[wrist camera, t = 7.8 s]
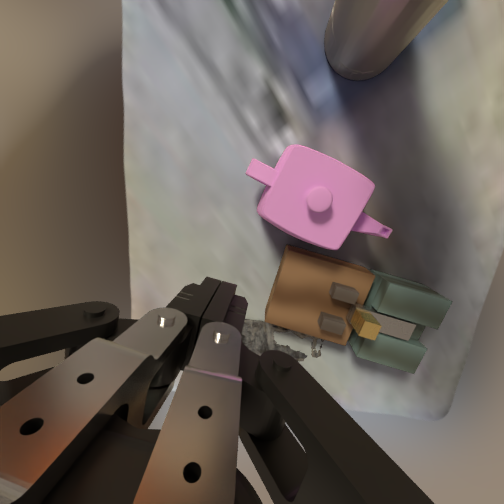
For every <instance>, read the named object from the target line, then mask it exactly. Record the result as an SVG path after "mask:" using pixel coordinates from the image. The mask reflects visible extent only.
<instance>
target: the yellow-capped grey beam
mask: <svg viewBox="0 0 504 504" xmlns="http://www.w3.org/2000/svg"><path fill="white" fill-rule="evenodd" d="M346 318H347V320H348V322H349V323H350V324H352V326H353V327H354V329H355V331H356V332H357V334H358V335H359V336H361V337H364V338H368V339H371V340H375V339H376V337H377V335H378V333H379V332H380V333H384V334H387V335H390V336H394V337H397V338H400V339H404V340H407V341H409V339H410V337H411V335H412V333H413V331H414V329H415V327H416V324H415V323H414V322H411V321H408V320H404V319H401V318H398V317H394V316H391V315H388V314H384V313H381V312H377V311H376V309H374V308H371V307H368V306H364V305H361V304H357V303H355V305H354V304H351V307H350V309H349V311H348V314H347V316H346Z"/></svg>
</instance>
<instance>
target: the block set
mask: <svg viewBox="0 0 504 504" xmlns="http://www.w3.org/2000/svg"><path fill="white" fill-rule="evenodd" d="M355 303H357V304H361V305H364V306H368V307H371V308H374V309H376V311H377V312H381V313H384V314H388V315H391V316H394V317H398V318H401V319H404V320H408V321H411V322H414V323H415V324H416V327H415V329H414V331H413V333H412V335H411V337H410V339H409V341H407V340H404V339H400V338H397V337H394V336H390V335H387V334H384V333H380V332H379V333H378V335H377V337H376V339H375V340H371V339H368V338H364V337H361V336H359V335H358V334H357V332H356V331H355V329H354V327H353V326H352V324H350V323H349V322H348V320H347V318H346V316H347V314H348V311H349V309H350V307H351V304H354V305H355ZM451 304H452V301H450V300H449V299H447V298H445V297H444V296H442V295H440V294H439V293H437V292H435V291H433V290H432V289H430V288H428V287H427V286H425V285H423V284H420V283H417V282H413V281H410V280H406V279H403V278H400V277H396V276H393V275H389V274H386V273H383V272H379V271H376V270H372V269H371V270H370V271H369V270H367V269H366V268H365V267H362V266H359V265H355V264H352V263H349V262H345V261H342V260H338V259H335V258H332V257H328V256H325V255H321V254H318V253H315V252H311V251H308V250H305V249H301V248H298V247H294V246H291V245H288V244H286V247H285V251H284V254H283V257H282V260H281V263H280V266H279V269H278V272H277V275H276V278H275V281H274V284H273V287H272V290H271V293H270V296H269V299H268V303H267V306H266V309H265V322H267V323H270V324H274V325H277V326H281V327H284V328H287V329H291V330H294V331H297V332H301V333H304V334H307V335H311V336H314V337H317V338H321V339H324V340H328V341H331V342H334V343H338V344H341V345H344V346H345V345H346V343H347V341H349V343H350V345H351V347H352V349H353V351H354V352H355V354H356V356H357V357H359V358H362V359H366V360H369V361H373V362H376V363H379V364H383V365H386V366H389V367H393V368H396V369H399V370H403V371H406V372H409V373H413V374H414V373H415V371H416V369H417V367H418V366H419V364H420V362H421V360H422V358H423V356H424V354H425V352H426V351H427V348H426V347H425V346H424V345H423V344H422V343H421V342H420V341H419V338H420V336H421V334H422V332H423V330H424V328H425V326H428V327H431V328H435V329H438V328H439V326H440V324H441V322H442V320H443V319H444V317H445V315H446V313H447V311H448V309H449V307H450V305H451Z"/></svg>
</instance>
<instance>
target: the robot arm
mask: <svg viewBox="0 0 504 504" xmlns="http://www.w3.org/2000/svg"><path fill="white" fill-rule="evenodd" d="M447 2H448V0H335V3H334V6H333V9H332V12H331V15H330V18H329V21H328V24H327V28H326V31H325V38H324V45H325V52H326V56H327V59H328V61H329V63H330V65H331V66H332V68H333V69H334V70H335V71H336V72H337V73H338V74H340V75H341V76H342V77H345V78H347V79H350V80H366V79H369V78H373V77H374V76H376V75H378V74H380V73H381V72H382V71H384V70H385V69H386V68H387V67H388V66H389V65H390V64H391V63H392V62H393V61H394V59H395V58H396V57H397V56H398V55H399V54H400V53H401V52H402V51H403V50H404V49H405V48H406V47H407V45H408V44H409V43H410V42H411V41H412V40H413V39H414V38H415V37H416V36H417V34H418V33H419V32H420V31H421V30H422V29H423V28H424V27H425V26H426V25H427V24H428V22H429V21H430V20H431V19H432V18H433V17H434V16H435V15H436V14H437V13H438V11H439V10H440V9H441V8H442V7H443V6H444V5H445V4H446V3H447ZM236 287H237V285H235V284H232V283H228V282H224V281H222V283H221V280H217V279H213V278H210V277H206V278H205V279H204V281H203V282H202V283H201V285H197V284H194V283H192V284H190V285H187V286H185V287H184V288H183V289H182V290H181V291H180V292H179V293H178V294H177V296H176V297H175V298H174V299H173V300H172V301H171V302H170V303H169V304H168V305H167V306H166V308H156V309H153V310H151V311H149V312H148V313H147V314H145V315H144V316H143V317H142V318H140V319H139V320H134V319H119V309H118V308H117V307H116V306H115V305H113V304H110V303H107V302H98V301H96V302H85V303H79V304H73V305H67V306H60V307H54V308H48V309H41V310H35V311H29V312H22V313H16V314H10V315H4V316H0V370H1V369H3V368H4V367H6V366H7V365H9V364H11V363H14V362H17V361H21V360H25V359H29V358H32V357H36V356H40V355H44V354H48V353H51V352H55V351H59V350H62V349H65V359H64V361H62V362H61V363H60V364H58V365H57V366H55V367H52V368H49V369H45V370H42V371H39V372H35V373H32V374H29V375H26V376H22V377H19V378H16V379H12V380H9V381H0V504H262V502H261V500H260V498H259V496H258V495H257V493H256V491H255V490H254V488H253V487H252V485H251V484H250V482H249V481H248V480H247V479H246V477H245V476H244V475H243V474H242V473H241V472H240V471H239V470H238V469H237V468H236V467H237V451H238V436H240V439H241V441H242V443H243V445H244V447H245V449H246V451H247V452H248V454H249V457H250V458H251V460H252V462H253V464H254V466H255V468H256V470H257V472H258V474H259V476H260V477H261V479H262V481H263V483H264V485H265V487H266V489H267V491H268V493H269V495H270V497H271V499H272V500H273V502H274V504H434V503H433V502H432V501H431V499H429V497H428V496H427V495H426V494H425V493H424V492H423V491H422V490H421V489H420V488H419V487H418V486H417V485H416V484H415V483H414V482H413V481H412V480H411V479H410V478H409V477H408V476H407V475H406V474H405V472H404V471H402V469H401V468H400V467H399V466H398V465H397V464H396V463H395V462H394V461H393V460H392V459H391V458H390V457H389V456H388V455H387V454H386V453H385V452H384V451H383V450H382V449H381V448H380V447H379V446H378V445H377V443H375V441H374V440H373V439H372V438H371V437H370V436H369V435H368V434H367V433H366V432H365V431H364V430H363V429H362V428H361V427H360V426H359V425H358V424H357V423H356V422H355V421H354V420H353V418H351V416H350V415H349V414H348V413H347V412H346V411H345V410H344V409H343V408H342V407H341V406H340V405H339V404H338V403H337V402H336V401H335V400H334V399H333V398H332V397H331V396H330V395H329V394H328V393H327V392H326V390H325V389H324V388H323V387H322V386H321V385H320V384H319V383H318V382H317V381H316V380H315V379H314V378H313V377H312V376H311V375H310V374H309V373H308V372H307V371H306V370H305V369H304V368H303V367H302V366H301V365H300V363H299V362H298V361H297V360H296V359H294V358H293V357H292V356H290V355H289V354H287V353H284V352H282V351H278V350H268V351H265V352H264V353H262V354H261V356H259V355H258V354H256V353H254V352H252V351H251V350H249V349H248V348H247V347H246V346H245V345H244V343H243V341H242V339H241V334H242V329H243V325H244V320H245V315H246V310H247V306H248V303H247V301H246V299H245V297H241V296H238V295H235V291H236ZM180 370H182V371H183V373H182V376H181V379H180V381H179V384H178V386H177V389H176V392H175V394H174V397H173V400H172V402H171V405H170V408H169V410H168V413H167V415H166V418H165V421H164V423H163V426H162V429H161V430H155V429H148V427H149V426H150V425H151V423H152V421H153V420H154V418H155V416H156V415H157V413H158V411H159V410H160V408H161V406H162V405H163V403H164V402H165V400H166V398H167V397H168V395H169V393H170V392H171V390H172V388H173V386H174V382H175V379H176V377H177V375H178V374H179V372H180ZM285 422H286V423H287V424H288V426H289V427H290V429H291V430H292V431H293V433H294V434H295V436H296V437H297V438H298V440H299V441H300V443H301V444H302V446H303V447H304V449H305V452H306V453H305V452H304V450H303V449H302V447H301V446H300V444H299V443H298V442H297V440H296V439H295V437H294V436H293V434H292V433H291V432H290V430H289V429H288V427H287V426H286V425H285Z"/></svg>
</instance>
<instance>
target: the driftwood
mask: <svg viewBox="0 0 504 504" xmlns="http://www.w3.org/2000/svg"><path fill="white" fill-rule="evenodd" d="M274 331H277V332H288V331H292V332H293V333H294V334H296V335H297V336H299V337H300V338H305V337H311V339H313V342H312V344H311V345H312V347H311V349H312V354H311V355H312V357H316V358H317V357H319V356H321V352H320V350H319V351H318V353H317V351H316V349H315V346H316V344H317V339H320V338H317V337H314V336H311V335H307V334H304V333H301V332H297V331H294V330H291V329H287V328H284V327H281V326H277V325H274V324H270V323H267V322H263V321H257V320H249V319H245V320H244V325H243V329H242V334H241V339H242V341H243V343H244V345H245V346H246V347H247V348H248V349H249V350H251V351H252V352H254V353H256V354H258V355H259V356H261V354H262V353H264V352H265V351H268V350H278V351H282V352H284V353H287V354H289V355H290V356H292V357H293V358H294V359H296V360H298V361H304V358H306V357H307V355H305V354H304V353H301V352H300V351H294V350H292V349H290V347H289V346H288V345H287V346H283V345H279V344H276V343H277V342H275V340H274V336H273V333H274ZM321 340H322V342H323V341H324V340H323V339H321ZM321 347H322V344H321V346H320V349H321ZM313 349H315V350H314V351H313Z"/></svg>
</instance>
